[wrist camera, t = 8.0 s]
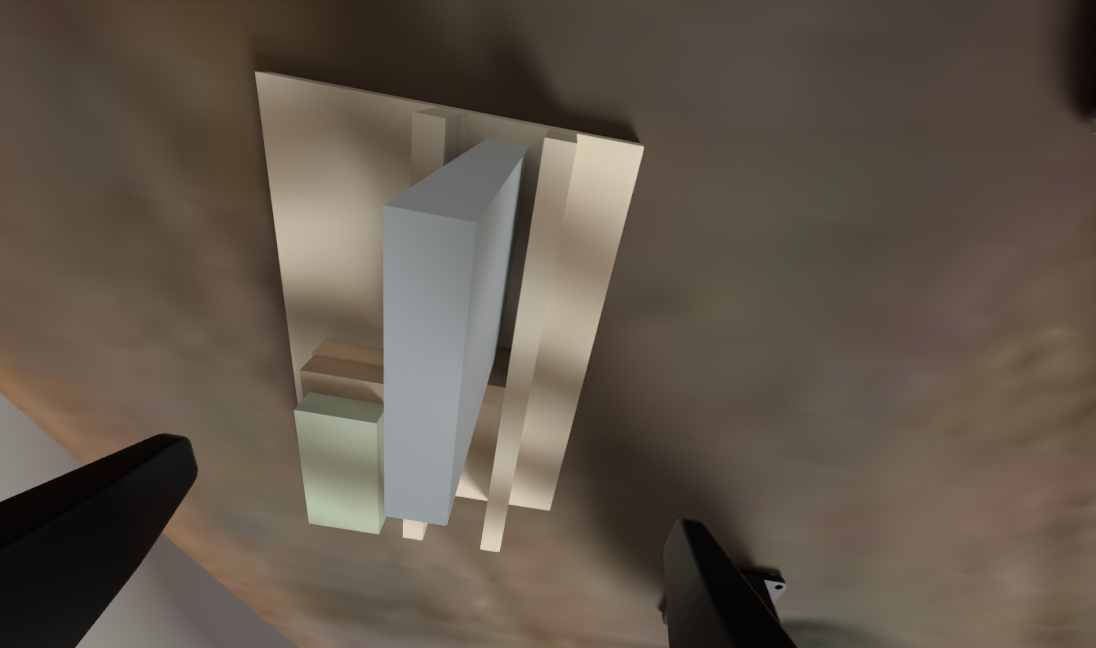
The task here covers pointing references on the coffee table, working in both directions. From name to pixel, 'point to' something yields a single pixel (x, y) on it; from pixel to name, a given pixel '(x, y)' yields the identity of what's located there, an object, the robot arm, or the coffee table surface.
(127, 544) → the robot arm
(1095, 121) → the rock
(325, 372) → the offcut stack
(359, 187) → the rack
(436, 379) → the sheet
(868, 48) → the coffee table surface
